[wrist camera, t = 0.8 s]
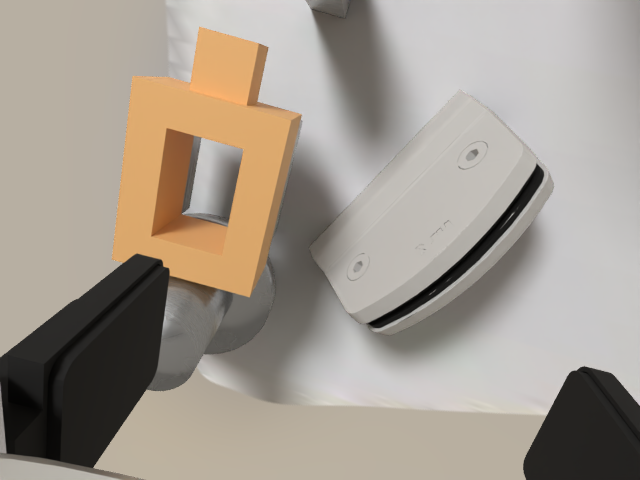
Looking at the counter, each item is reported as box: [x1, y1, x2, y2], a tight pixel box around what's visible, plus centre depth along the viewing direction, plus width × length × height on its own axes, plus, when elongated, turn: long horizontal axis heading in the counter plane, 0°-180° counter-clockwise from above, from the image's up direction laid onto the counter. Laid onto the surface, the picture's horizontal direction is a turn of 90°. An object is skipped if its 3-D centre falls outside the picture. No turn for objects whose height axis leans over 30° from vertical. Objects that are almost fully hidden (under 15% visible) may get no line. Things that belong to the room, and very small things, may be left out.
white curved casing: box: [309, 90, 554, 335], centre depth 31 cm, size 17×5×10 cm, turn 138°
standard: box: [147, 120, 303, 391], centre depth 29 cm, size 18×10×14 cm, turn 165°
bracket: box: [112, 27, 302, 297], centre depth 25 cm, size 13×8×4 cm, turn 165°
